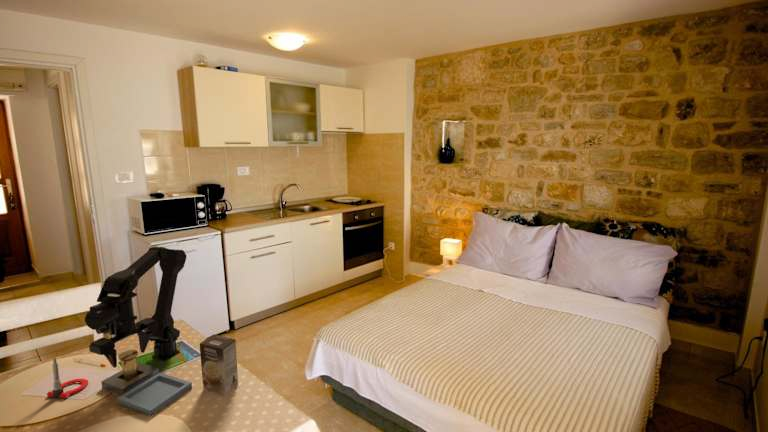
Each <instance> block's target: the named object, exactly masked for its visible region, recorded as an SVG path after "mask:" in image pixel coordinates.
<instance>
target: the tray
mask: <svg viewBox="0 0 768 432" xmlns="http://www.w3.org/2000/svg"><path fill="white" fill-rule="evenodd" d="M192 384H193V383H192V381H188V380H184V379H182V378H178V377H175V376H173V375H168V374H166V373H162V372H159V374H157V375H155V376H154V377H152V378H150V379H149V380H147V381H145V382H144V383H142V384H140V385H139V386H137V387H135V388H134V389H132V390H130V391H129V392H127V393H125V394H124V395H122V396H121V395H119V397H117V398H116V399H117V404H118V405H120V406H121V407H125V408H128V409H130V410H133V411H135V412H138V413H140V414H143V415H145V414H147V415H146V416H148V415H150V416H149V417H151V416H152V415H153V416H155V415H156V414H157V413H159V412H161V411H162V410H164V409H165V408H166V407H168V406H169V405H170V404H172V403H173V402H174V401H177V400H178V399H179V398H180V397H182V396H184V395H185V394H186V393H188V392H189V391H190V390H192V389H193V385H192ZM154 414H155V415H154ZM153 416H152V417H153Z"/></svg>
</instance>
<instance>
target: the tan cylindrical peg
mask: <svg viewBox="0 0 768 432" xmlns="http://www.w3.org/2000/svg"><path fill="white" fill-rule="evenodd" d="M138 355H139V352H138V350H137V349H129V350H125V351H123V352H121V353H119V355H117V356H118V357H117V358H118V360H119V361H121V371H123V378H124V380H126V381H130V380H131V379H133V378H135V377H137V376H138V369H137V362H138V361H137V357H138Z"/></svg>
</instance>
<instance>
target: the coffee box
mask: <svg viewBox="0 0 768 432" xmlns="http://www.w3.org/2000/svg"><path fill="white" fill-rule="evenodd" d="M236 341H237V340H236V338H232V337H227V336H223V335H218V334H215V333H213V334H212V335H211V336H208V338H207V337H206V339H204V340H203V341H201V342H200V343H199V352H200V353H199V355H200V365H201V366H200V367H201V377H202V379H201V380H202V390H204V391H208V392H212V393H215V394H219V395H221V396H227V395H228V394H229V393H231V392H232V391H233V390H234V389H235V388H236V387H238V386H239V376H238V374H239V373H238V358H237V344H236V343H237V342H236Z"/></svg>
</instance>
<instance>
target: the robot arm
mask: <svg viewBox="0 0 768 432" xmlns="http://www.w3.org/2000/svg"><path fill="white" fill-rule="evenodd" d="M186 260H187V254H186V252H185V251H184V249H173V248H167V247H164V246H152V247H150V248H149V249H148V250H147V251H146V252H145V253H144V254H143V255H142V256H140V257H139V258H138V259H137V260H135V261H134V262H133V263H132V264H131V265H129V266H128V267H127V268H125V269H124V270H120V271H117V272H115V273H113V274H111V275H110V276H107V278H106V279H105V280H104V281H103V285H102V287H101V289H100V292H99V295H98V297H97V299H96V302H97V303H98V304H95V305H91V306H90V307H89V311H87V313H86V314H85V317H84V323H85V325H86V326H87V327H88V328H89V329H91V330H93V331H95V332H96V334H97V335H100V334H103V335H105V336H106V335H107V334H109V336H113V337H111V338H107V337H100V338H98V339H96V340H94V341H92V342H91V343H90V344H89V346H88V349H89V352H90V353H93V354H96V355H100V356H105V358H106V359H107V361H108V362H109V363H110V365H111V366H112V368H117V363H118V359H117V358H118V357H117V356H118V355H117V352H118V351H117V349H115V347H116V343H118V342H121V341H123V340H125V339H127V338H130V337H132V336H133V335H135V334H136V335H137V336H138V343H139V350H140V352H141V353H143V354H144V353H145V352H146V349H147V346H148V344H149V342H153V344H154V345H153V355H152V358H155V359H159V360H162V361H166V360H168V359H170V358H171V357H174V356H176V355H177V354H178V353H180V352H181V350H180V349H178V348H177V341H178V338H180V335H181V331H180V330H179V329H177V328H176V327H174V325H175V321H174V318H173V315H172V309H173V302H174V299H175V298H174V297H175V291H176V285H177V281H178V275H179V273H180V272H181V271H182V270H183V269H184V267H185V264H186ZM157 263H159V268H160V269H161V272H162V274H161V279H160V284H159V290H158V294H157V300H156V306H155V310H154V313H153V315H152V316H151V317H146V318H143V319H140V320H139V321H136V320H138V316H137V315H135V311H134V303H133V298H134V297H137V296H138V293H137V292H135V291H134V290H135V289H136V288H137V287H138V285H139V280H140V279H141V277H143V276H144V275H146V274H147V273H148V271H150V269H152V268H153V267H154V266H155V265H156V264H157ZM115 295H116V296H115Z"/></svg>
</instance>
